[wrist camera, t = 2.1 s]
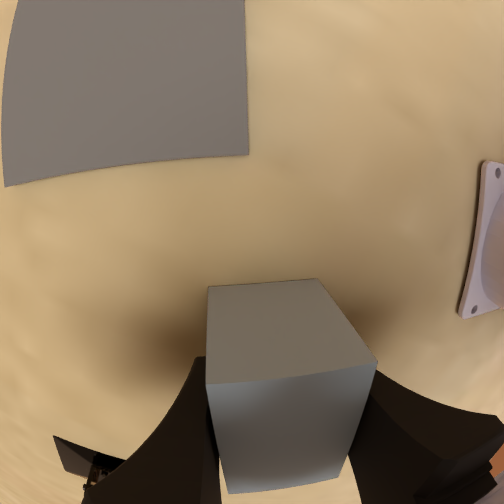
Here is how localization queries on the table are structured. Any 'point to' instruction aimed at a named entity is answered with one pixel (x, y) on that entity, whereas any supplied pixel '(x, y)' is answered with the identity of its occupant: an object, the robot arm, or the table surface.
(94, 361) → the table surface
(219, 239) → the table surface
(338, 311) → the brick
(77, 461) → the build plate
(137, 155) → the mat
